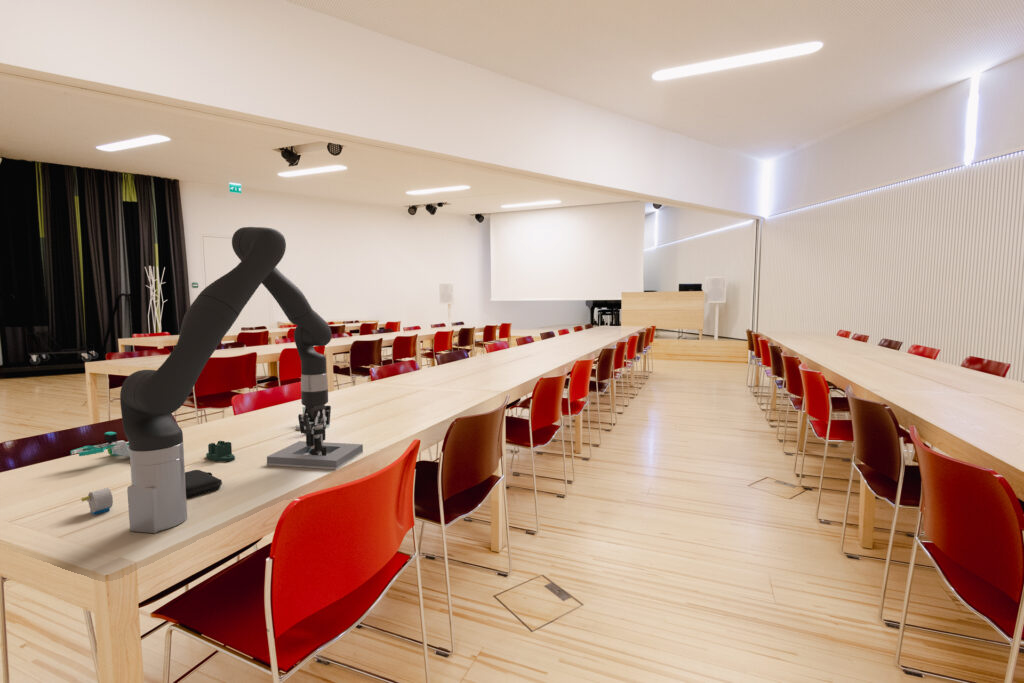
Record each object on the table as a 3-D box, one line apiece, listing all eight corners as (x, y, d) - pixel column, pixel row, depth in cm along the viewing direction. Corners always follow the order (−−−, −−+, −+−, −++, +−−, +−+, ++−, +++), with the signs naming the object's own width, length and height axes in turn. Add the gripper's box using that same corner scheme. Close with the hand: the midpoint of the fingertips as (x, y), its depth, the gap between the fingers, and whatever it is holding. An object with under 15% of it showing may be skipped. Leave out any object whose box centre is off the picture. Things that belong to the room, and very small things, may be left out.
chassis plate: (336, 469, 136) (336, 460, 136) (267, 464, 140) (266, 456, 140) (362, 452, 152) (362, 444, 152) (299, 448, 156) (299, 441, 155)
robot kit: (59, 469, 137) (56, 437, 136) (152, 445, 160) (150, 417, 159) (99, 478, 130) (97, 444, 129) (190, 451, 153) (188, 423, 153)
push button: (311, 462, 141) (310, 428, 140) (300, 459, 144) (299, 426, 143) (330, 455, 146) (329, 424, 146) (319, 453, 149) (318, 421, 149)
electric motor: (78, 512, 108) (76, 491, 108) (104, 505, 112) (103, 484, 112) (88, 520, 104) (86, 498, 104) (115, 512, 108) (114, 491, 108)
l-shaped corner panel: (304, 425, 188) (304, 406, 187) (329, 427, 184) (329, 408, 183) (280, 432, 176) (280, 413, 176) (307, 435, 172) (306, 415, 172)
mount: (239, 459, 146) (238, 443, 145) (225, 463, 141) (225, 447, 141) (215, 454, 150) (214, 438, 149) (201, 458, 146) (200, 442, 145)
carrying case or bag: (229, 488, 123) (204, 476, 132) (229, 476, 123) (204, 465, 132) (182, 502, 115) (159, 488, 123) (181, 490, 114) (158, 477, 123)
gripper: (312, 393, 136) (314, 450, 138) (338, 384, 151) (339, 437, 152) (288, 392, 138) (290, 449, 139) (316, 384, 152) (318, 436, 153)
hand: (316, 442), depth 145 cm, fingers open, 5 cm apart
